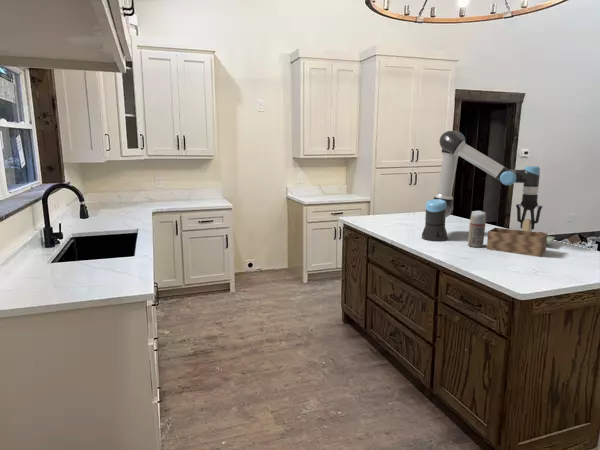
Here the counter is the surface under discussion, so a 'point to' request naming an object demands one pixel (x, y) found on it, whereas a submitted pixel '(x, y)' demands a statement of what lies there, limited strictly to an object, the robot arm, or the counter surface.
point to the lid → (527, 226)
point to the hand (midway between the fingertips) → (526, 234)
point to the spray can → (477, 229)
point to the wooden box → (517, 241)
